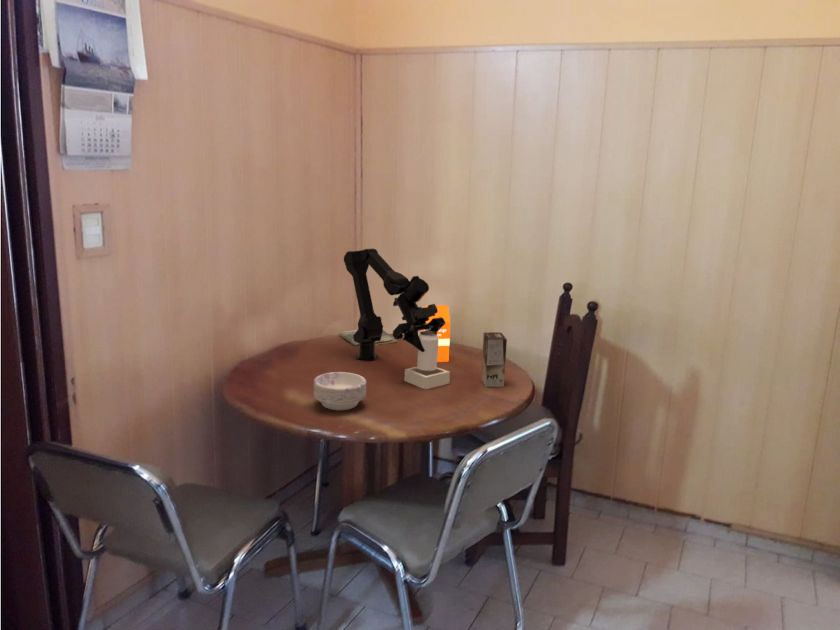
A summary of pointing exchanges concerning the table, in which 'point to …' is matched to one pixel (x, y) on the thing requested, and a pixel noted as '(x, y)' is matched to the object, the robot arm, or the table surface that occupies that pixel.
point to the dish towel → (384, 340)
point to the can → (428, 351)
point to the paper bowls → (339, 390)
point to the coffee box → (493, 359)
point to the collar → (427, 377)
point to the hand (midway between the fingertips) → (430, 350)
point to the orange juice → (442, 333)
